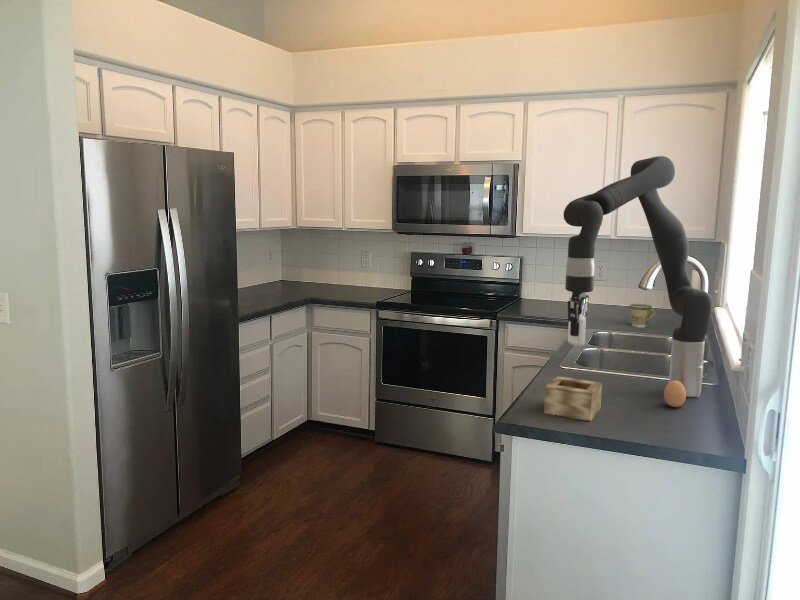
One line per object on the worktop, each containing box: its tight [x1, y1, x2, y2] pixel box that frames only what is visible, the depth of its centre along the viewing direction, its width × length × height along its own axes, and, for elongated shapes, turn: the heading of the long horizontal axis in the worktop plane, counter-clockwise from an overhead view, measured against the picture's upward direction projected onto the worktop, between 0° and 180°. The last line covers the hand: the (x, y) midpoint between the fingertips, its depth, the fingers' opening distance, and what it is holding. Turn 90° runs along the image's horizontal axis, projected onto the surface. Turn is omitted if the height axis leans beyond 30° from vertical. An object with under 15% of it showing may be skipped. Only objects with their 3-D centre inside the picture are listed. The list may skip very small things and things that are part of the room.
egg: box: [663, 380, 687, 408], centre depth 190 cm, size 6×6×8 cm
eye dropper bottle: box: [567, 314, 587, 347], centre depth 181 cm, size 4×6×12 cm
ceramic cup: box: [629, 303, 657, 328], centre depth 307 cm, size 13×10×10 cm
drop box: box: [543, 375, 603, 423], centre depth 185 cm, size 13×12×8 cm
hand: (576, 333), depth 182 cm, fingers closed on eye dropper bottle, 5 cm apart
